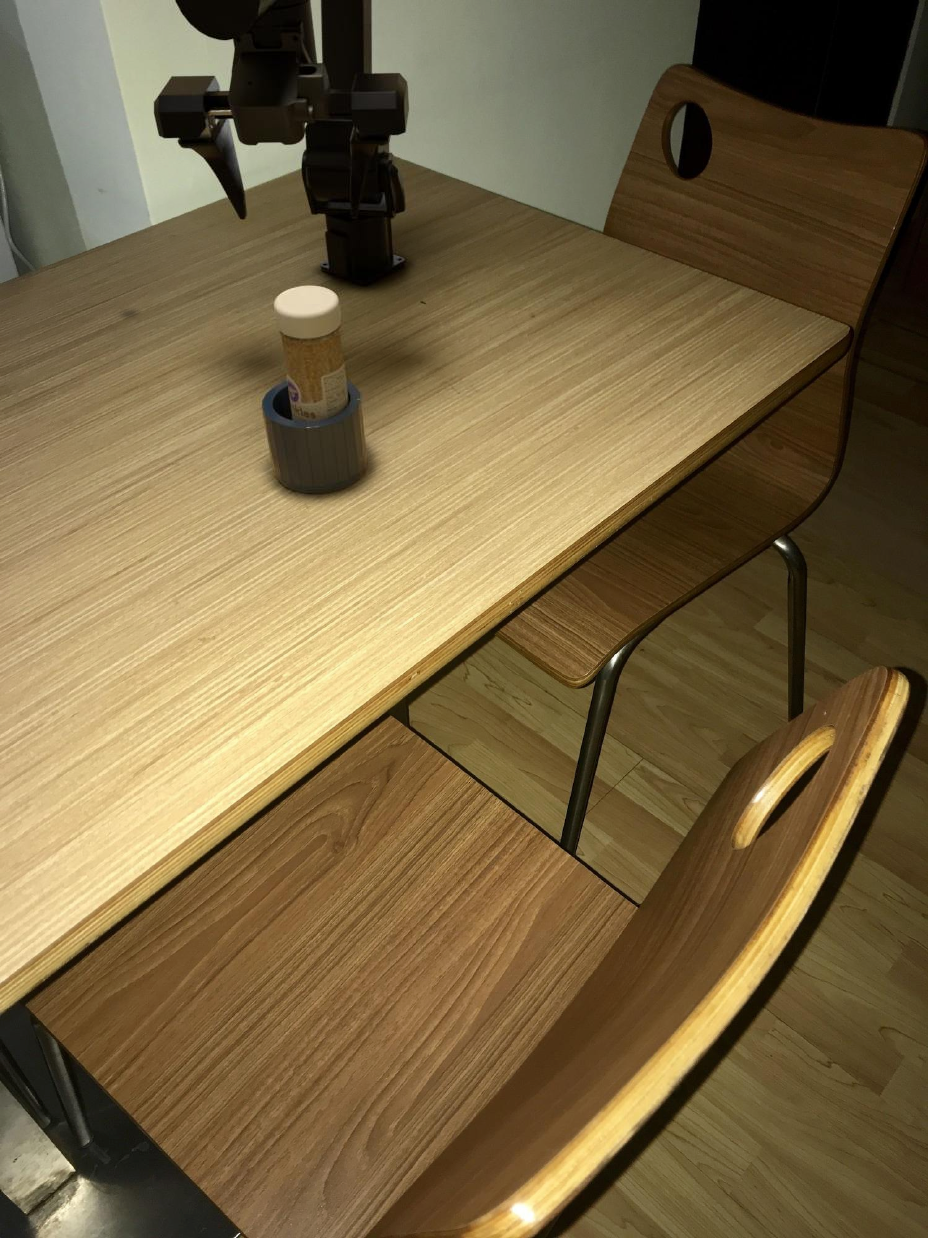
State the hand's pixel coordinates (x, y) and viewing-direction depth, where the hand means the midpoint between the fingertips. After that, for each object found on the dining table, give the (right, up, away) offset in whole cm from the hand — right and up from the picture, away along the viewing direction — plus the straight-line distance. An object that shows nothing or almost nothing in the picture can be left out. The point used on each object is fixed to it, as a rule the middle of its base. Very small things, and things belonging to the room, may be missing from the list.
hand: (299, 216), depth 82 cm
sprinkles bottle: (+3, -21, -3) cm, 21 cm away
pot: (+2, -21, -3) cm, 21 cm away
